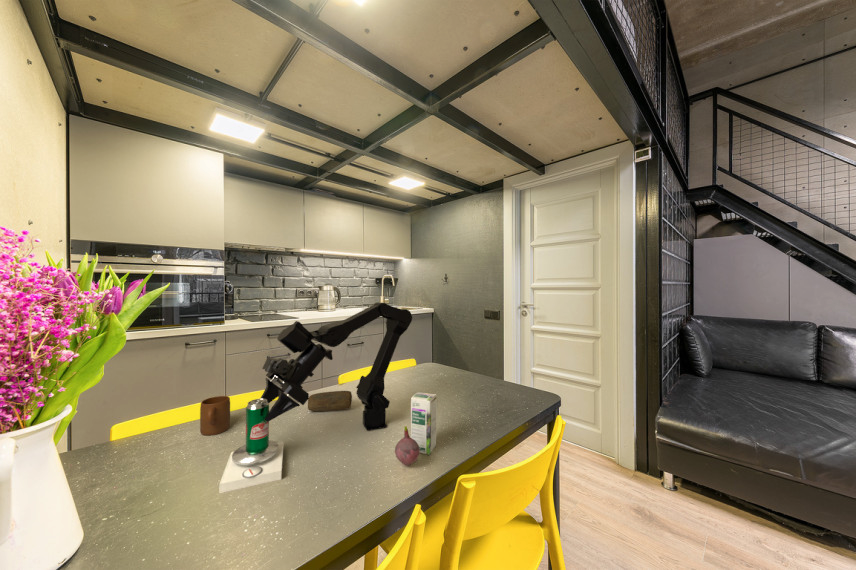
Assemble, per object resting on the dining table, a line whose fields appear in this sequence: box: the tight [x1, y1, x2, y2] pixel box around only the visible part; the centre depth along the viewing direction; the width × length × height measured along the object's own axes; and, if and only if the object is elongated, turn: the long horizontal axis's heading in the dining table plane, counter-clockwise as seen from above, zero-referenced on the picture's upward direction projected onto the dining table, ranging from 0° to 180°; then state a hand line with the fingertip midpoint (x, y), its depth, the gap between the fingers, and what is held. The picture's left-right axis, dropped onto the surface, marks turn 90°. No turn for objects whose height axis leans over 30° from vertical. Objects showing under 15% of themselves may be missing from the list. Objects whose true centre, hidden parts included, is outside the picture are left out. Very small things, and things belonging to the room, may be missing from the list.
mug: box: [199, 395, 231, 436], centre depth 92 cm, size 12×8×9 cm, turn 25°
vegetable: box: [394, 425, 420, 467], centre depth 76 cm, size 6×6×10 cm
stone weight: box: [307, 390, 353, 412], centre depth 110 cm, size 15×7×7 cm, turn 103°
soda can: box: [245, 398, 270, 454], centre depth 76 cm, size 5×5×12 cm
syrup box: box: [410, 391, 437, 456], centre depth 84 cm, size 6×6×14 cm
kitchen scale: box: [218, 441, 284, 494], centre depth 74 cm, size 12×14×2 cm
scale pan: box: [232, 439, 279, 465], centre depth 75 cm, size 10×10×2 cm
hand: (261, 414), depth 76 cm, fingers open, 9 cm apart
